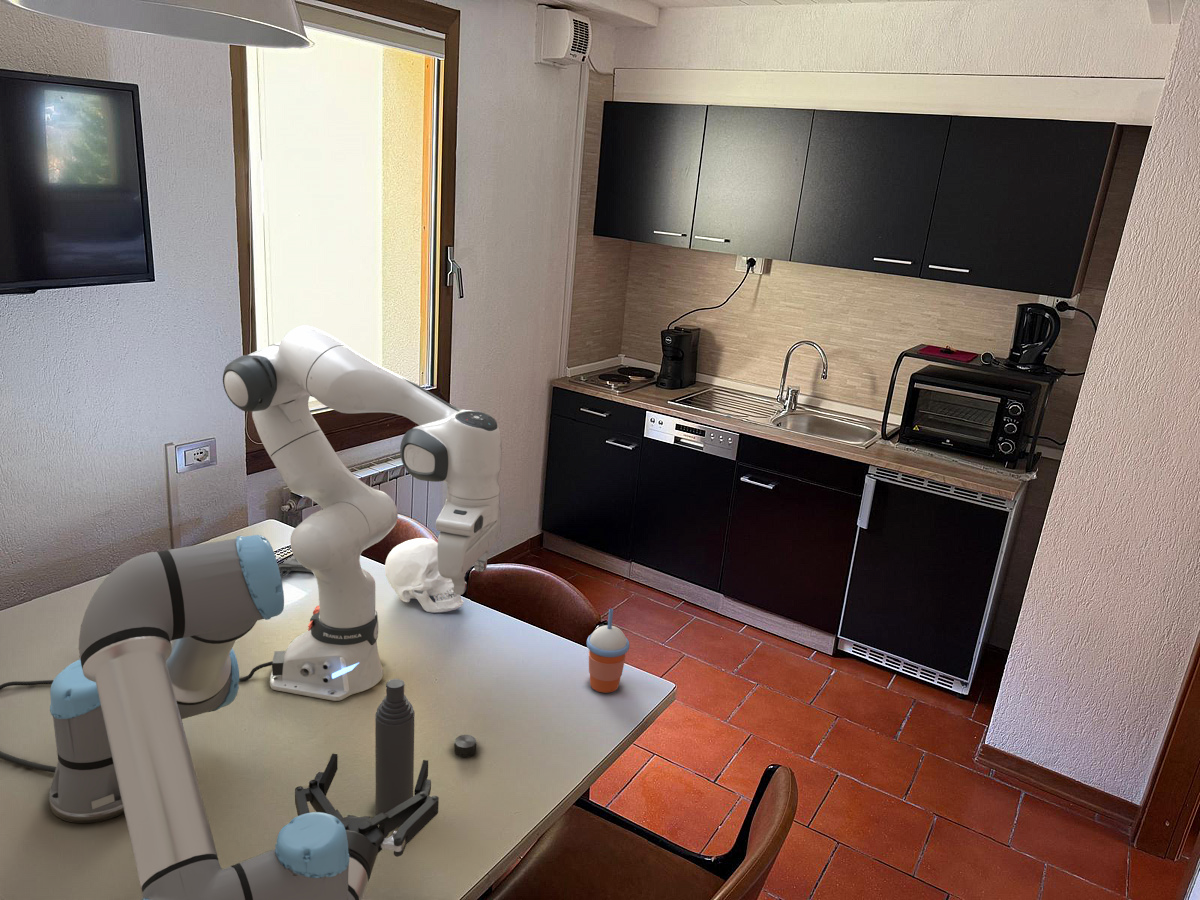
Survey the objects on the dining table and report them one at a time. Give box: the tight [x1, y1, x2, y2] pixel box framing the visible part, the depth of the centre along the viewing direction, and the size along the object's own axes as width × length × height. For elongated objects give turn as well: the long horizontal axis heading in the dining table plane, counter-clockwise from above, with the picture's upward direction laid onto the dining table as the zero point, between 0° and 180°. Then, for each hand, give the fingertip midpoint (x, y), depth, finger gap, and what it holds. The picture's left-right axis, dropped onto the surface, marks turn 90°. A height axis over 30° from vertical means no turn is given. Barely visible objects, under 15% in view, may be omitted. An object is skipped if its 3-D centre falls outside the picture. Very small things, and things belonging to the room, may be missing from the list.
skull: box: [384, 537, 465, 614], centre depth 211 cm, size 13×22×16 cm, turn 67°
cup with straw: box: [586, 608, 630, 694], centre depth 181 cm, size 9×9×18 cm
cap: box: [453, 734, 477, 758], centre depth 159 cm, size 4×4×2 cm
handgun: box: [278, 556, 313, 579], centre depth 220 cm, size 2×18×12 cm
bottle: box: [374, 678, 416, 816], centre depth 139 cm, size 6×6×24 cm
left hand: (380, 764), depth 129 cm, fingers open, 13 cm apart
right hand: (470, 580), depth 149 cm, fingers open, 8 cm apart
